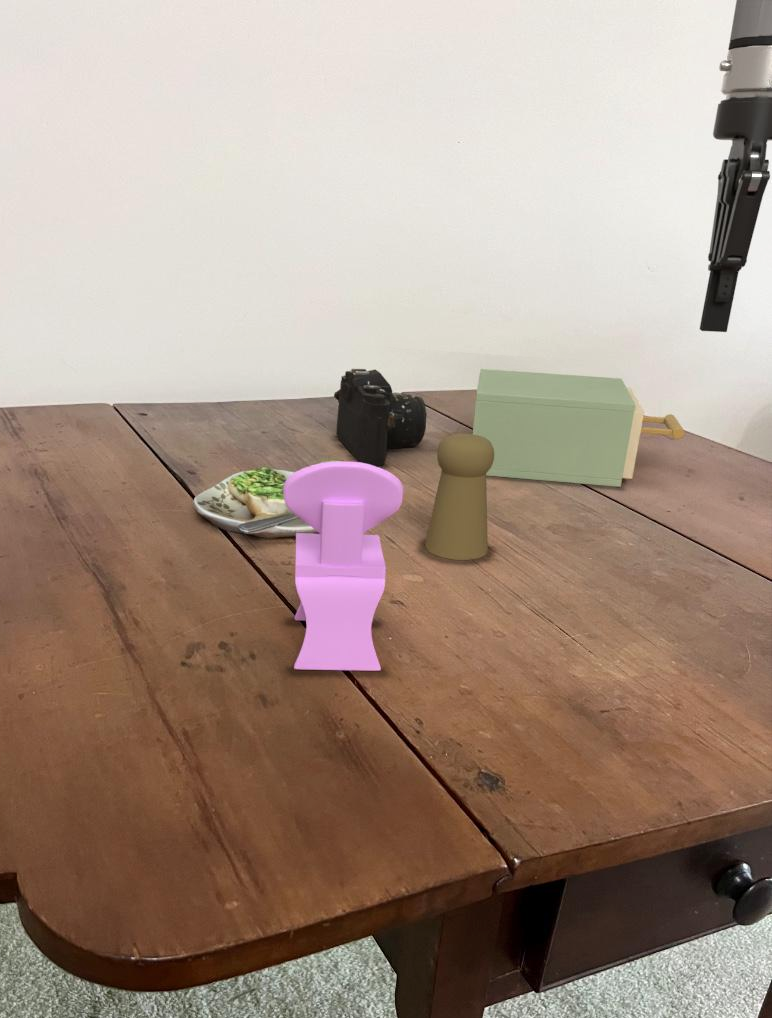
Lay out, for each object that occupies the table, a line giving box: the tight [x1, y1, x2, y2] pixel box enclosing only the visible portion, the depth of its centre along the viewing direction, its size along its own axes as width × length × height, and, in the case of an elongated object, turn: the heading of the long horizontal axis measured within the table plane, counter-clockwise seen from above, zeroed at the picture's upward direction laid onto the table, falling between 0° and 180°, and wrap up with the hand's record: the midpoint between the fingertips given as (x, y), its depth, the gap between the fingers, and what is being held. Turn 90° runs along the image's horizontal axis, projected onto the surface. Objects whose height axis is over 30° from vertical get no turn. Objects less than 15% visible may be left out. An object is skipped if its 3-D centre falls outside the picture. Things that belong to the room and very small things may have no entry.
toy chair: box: [283, 460, 404, 672], centre depth 67 cm, size 8×9×15 cm
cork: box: [424, 433, 494, 561], centre depth 86 cm, size 6×6×11 cm
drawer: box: [622, 386, 686, 480], centre depth 113 cm, size 22×14×8 cm, turn 79°
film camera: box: [333, 368, 428, 467], centre depth 118 cm, size 18×12×10 cm
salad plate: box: [193, 459, 346, 539], centre depth 94 cm, size 19×18×5 cm
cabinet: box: [471, 368, 635, 488], centre depth 114 cm, size 18×15×10 cm
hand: (713, 330), depth 106 cm, fingers closed
